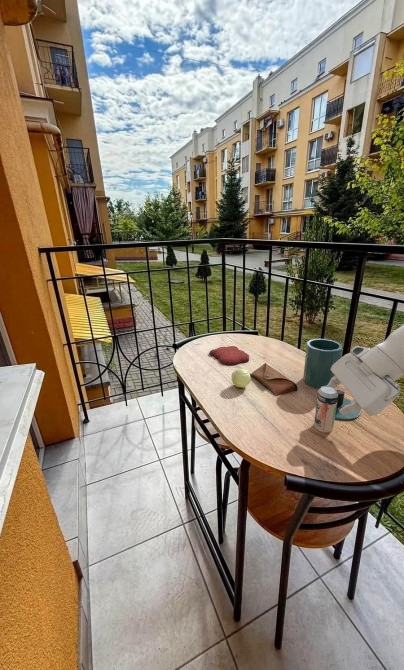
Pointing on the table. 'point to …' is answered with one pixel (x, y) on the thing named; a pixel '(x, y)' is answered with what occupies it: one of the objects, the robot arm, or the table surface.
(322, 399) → the beer can
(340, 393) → the lid
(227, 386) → the table surface
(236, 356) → the red cloth
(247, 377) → the tennis ball
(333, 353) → the tin
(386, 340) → the robot arm
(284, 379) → the sunglasses case
